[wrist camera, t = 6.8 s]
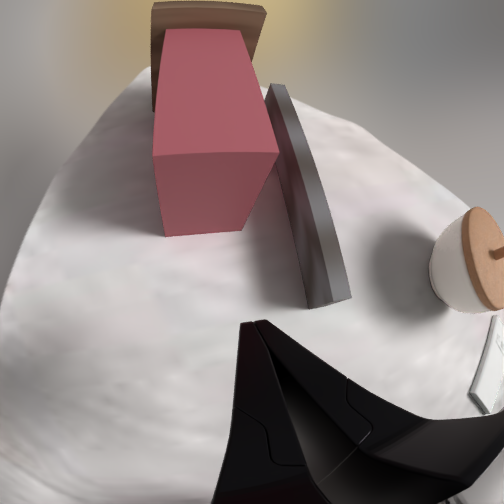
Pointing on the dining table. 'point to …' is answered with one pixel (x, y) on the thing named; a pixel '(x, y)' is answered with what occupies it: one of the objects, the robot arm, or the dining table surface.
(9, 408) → the dining table surface
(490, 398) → the external hard drive
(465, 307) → the lidded jar
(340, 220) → the dining table surface
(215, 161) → the pink rectangular block
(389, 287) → the dining table surface
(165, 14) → the bookend
